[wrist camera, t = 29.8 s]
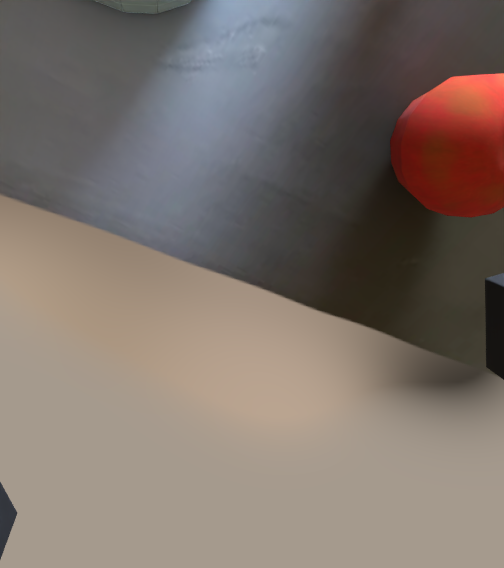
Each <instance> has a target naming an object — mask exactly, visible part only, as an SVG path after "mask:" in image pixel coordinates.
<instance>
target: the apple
mask: <svg viewBox="0 0 504 568" xmlns="http://www.w3.org/2000/svg"><path fill="white" fill-rule="evenodd" d="M390 147H391V163H392V166H393V169H394V171H395V174H396V177H397V179H398V182H399V183H400V184H402V185H403V186H404V187H405V188H406V189H407V190H408V191H409V192H410V193H411V194H412V195H413V196H414V197H415V198H416V199H417V200H418V201H420V202H421V203H422V204H423V205H424V206H425V207H426V208H427V209H430V210H432V211H435V212H438V213H441V214H444V215H447V216H460V217H475V216H481V215H486V214H492V213H495V212H496V211H498V210H500V209H501V208H503V207H504V74H487V75H471V76H458V77H451V78H449V79H448V80H446V81H445V82H443V83H442V84H440V85H439V86H437V87H435V88H434V89H432V90H431V91H429V92H428V93H426V94H424V95H422V96H421V97H419V98H417V99H416V100H414V101H412V102H411V104H410V105H409V106H408V107H407V109H406V110H405V111H404V112H403V114H402V115H401V116H400V117H399V119H398V121H397V123H396V126H395V129H394V132H393V135H392V137H391V140H390Z"/></svg>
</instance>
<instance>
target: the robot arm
mask: <svg viewBox="0 0 504 568" xmlns="http://www.w3.org/2000/svg"><path fill="white" fill-rule="evenodd" d="M485 304H486V367H487V368H488V369H490V370H491V371H493V372H494V373H495V374H497V375H498V376H499V377H501V378H502V379H504V273H503V274H499V275H496V276H492V277H489V278H485ZM16 515H17V512H16V510H15V508H14V506H13V504H12V502H11V501H10V499H9V497H8V495H7V493H6V492H5V490H4V488H3V486H2V484H1V482H0V559H1V556H2V553H3V551H4V548H5V545H6V543H7V540H8V537H9V534H10V531H11V529H12V526H13V524H14V521H15V518H16Z"/></svg>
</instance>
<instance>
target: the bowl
mask: <svg viewBox="0 0 504 568" xmlns="http://www.w3.org/2000/svg"><path fill="white" fill-rule="evenodd" d="M94 1H97V2H99V3H102V4H104V5H107V6H109V7H112V8H114V9H117V10H119V11H122V12H123V11H124V12H129V13H151V14H157V13H161V12H164V11H167V10H170V9H174V8H177V7H180V6H183V5H186V4H188V3H190V2H191V1H192V0H94Z"/></svg>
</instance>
